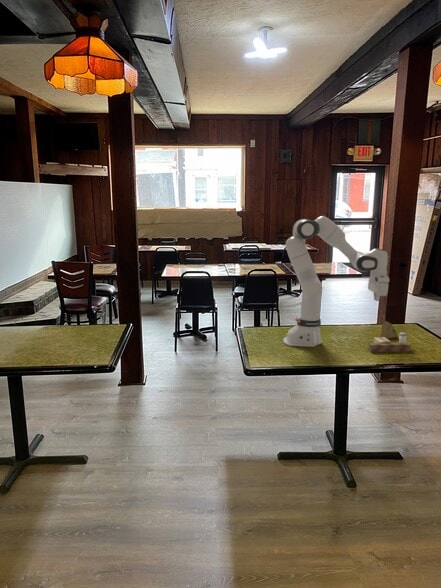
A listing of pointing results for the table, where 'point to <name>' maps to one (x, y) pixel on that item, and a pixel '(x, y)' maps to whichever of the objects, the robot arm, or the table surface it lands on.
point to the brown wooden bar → (389, 347)
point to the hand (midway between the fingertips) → (376, 300)
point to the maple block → (381, 340)
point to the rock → (388, 330)
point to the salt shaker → (402, 337)
